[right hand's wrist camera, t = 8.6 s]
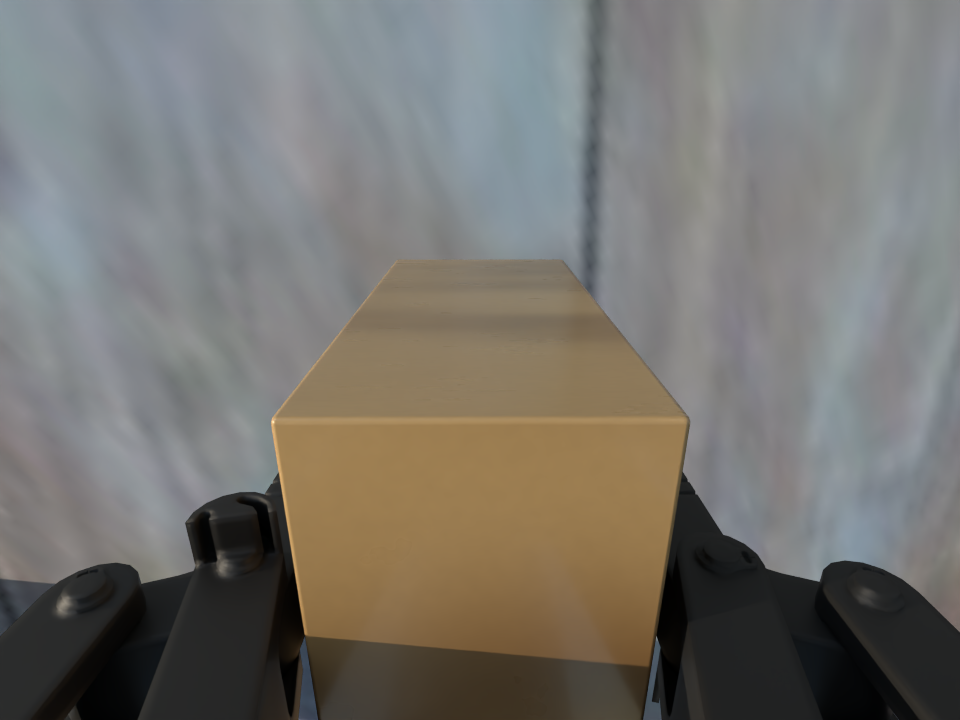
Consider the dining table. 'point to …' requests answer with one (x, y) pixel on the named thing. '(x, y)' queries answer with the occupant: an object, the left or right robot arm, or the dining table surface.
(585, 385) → the bar
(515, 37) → the dining table surface
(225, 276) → the dining table surface
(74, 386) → the dining table surface
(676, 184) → the dining table surface
